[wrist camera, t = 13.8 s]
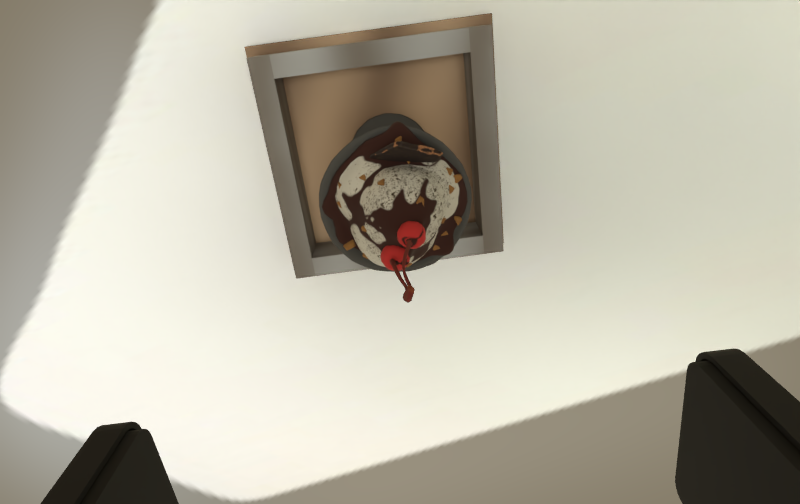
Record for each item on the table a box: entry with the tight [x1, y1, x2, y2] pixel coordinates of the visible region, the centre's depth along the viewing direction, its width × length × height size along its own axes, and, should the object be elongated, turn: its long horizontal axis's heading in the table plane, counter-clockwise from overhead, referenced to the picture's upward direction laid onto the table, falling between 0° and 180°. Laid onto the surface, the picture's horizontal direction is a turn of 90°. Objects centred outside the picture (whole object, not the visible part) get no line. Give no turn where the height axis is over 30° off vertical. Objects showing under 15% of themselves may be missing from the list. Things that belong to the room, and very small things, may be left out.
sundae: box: [319, 113, 472, 302], centre depth 25 cm, size 7×7×15 cm
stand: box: [245, 13, 504, 278], centre depth 31 cm, size 14×14×4 cm
